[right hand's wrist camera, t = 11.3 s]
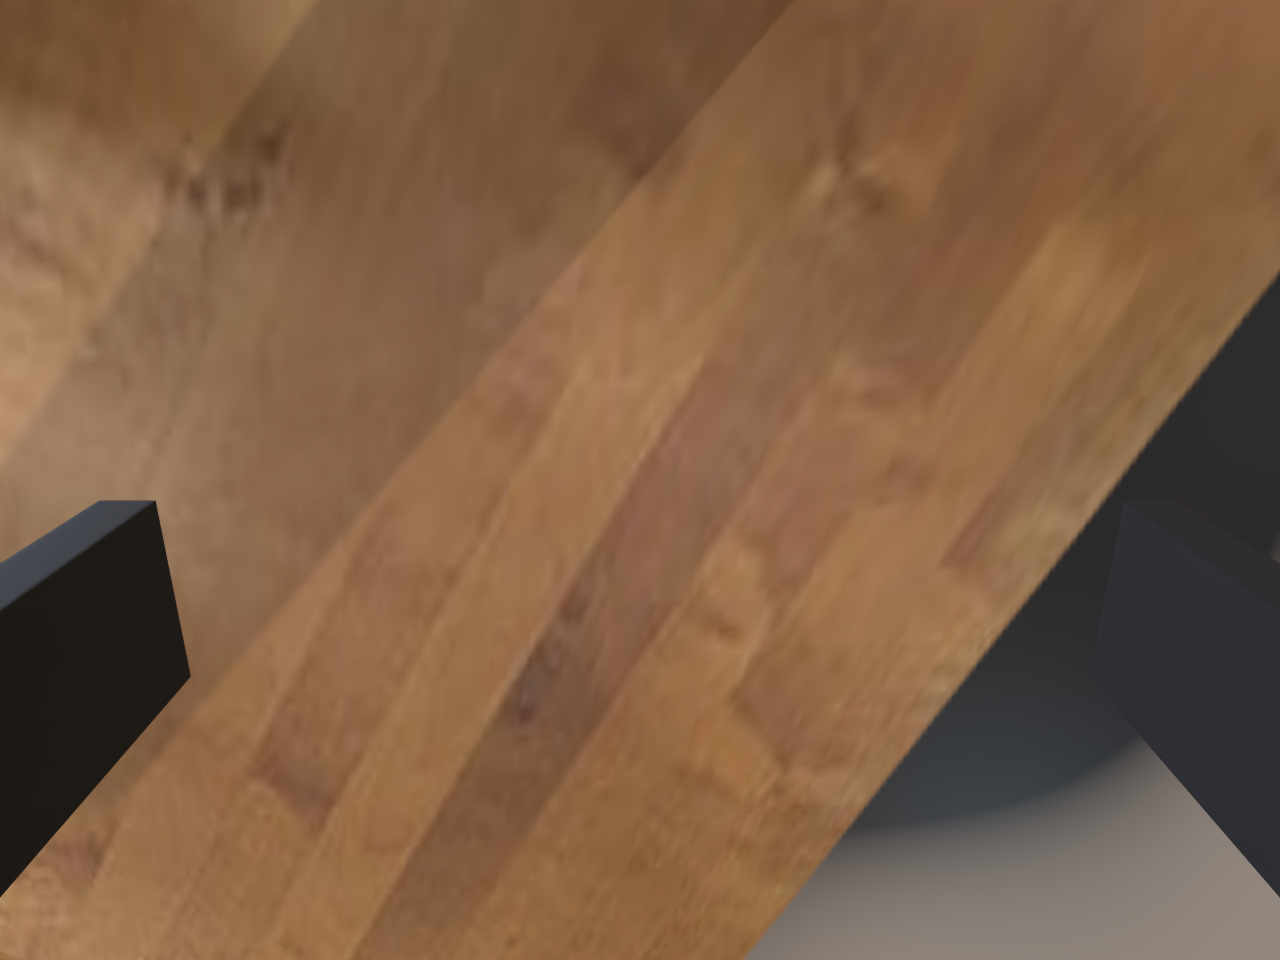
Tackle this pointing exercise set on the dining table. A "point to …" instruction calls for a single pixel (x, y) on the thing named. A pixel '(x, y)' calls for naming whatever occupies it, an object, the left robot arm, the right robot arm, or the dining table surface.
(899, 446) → the dining table surface
